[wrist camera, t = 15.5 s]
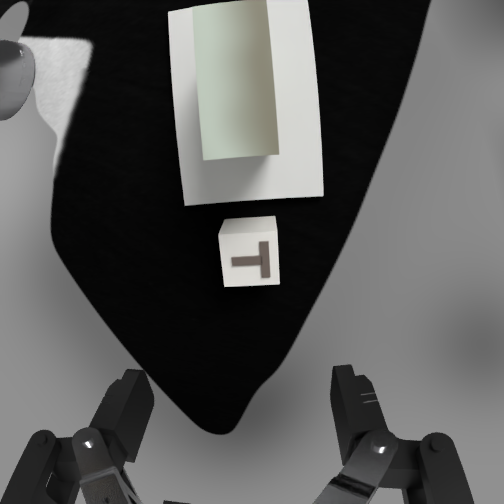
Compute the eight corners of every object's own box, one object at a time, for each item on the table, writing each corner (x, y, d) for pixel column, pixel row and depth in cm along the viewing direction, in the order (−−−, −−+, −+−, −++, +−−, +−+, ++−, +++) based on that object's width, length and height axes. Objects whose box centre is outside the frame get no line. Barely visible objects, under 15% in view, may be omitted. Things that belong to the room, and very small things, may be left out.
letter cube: (229, 265, 31) (224, 288, 26) (224, 219, 29) (217, 235, 25) (277, 262, 30) (279, 285, 26) (275, 215, 29) (277, 231, 24)
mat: (187, 203, 28) (184, 205, 28) (170, 14, 22) (168, 12, 21) (321, 194, 28) (323, 196, 27) (306, 1, 21) (307, -2, 21)
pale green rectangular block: (225, 150, 26) (203, 160, 16) (216, 48, 23) (192, 7, 13) (273, 146, 26) (279, 154, 16) (265, 44, 22) (266, -1, 13)
